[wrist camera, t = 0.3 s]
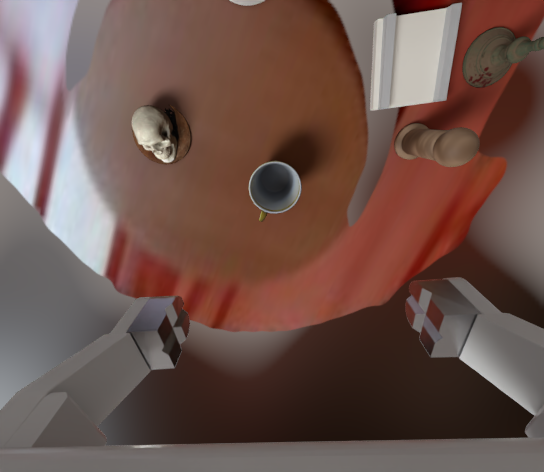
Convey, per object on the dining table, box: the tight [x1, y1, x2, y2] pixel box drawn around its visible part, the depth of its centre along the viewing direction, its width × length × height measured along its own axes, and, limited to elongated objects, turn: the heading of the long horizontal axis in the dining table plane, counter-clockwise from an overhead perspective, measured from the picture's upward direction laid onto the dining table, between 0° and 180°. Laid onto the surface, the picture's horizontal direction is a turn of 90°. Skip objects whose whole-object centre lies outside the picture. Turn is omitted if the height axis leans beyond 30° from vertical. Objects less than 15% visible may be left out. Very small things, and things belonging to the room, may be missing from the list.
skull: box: [132, 104, 191, 164], centre depth 49 cm, size 12×10×10 cm
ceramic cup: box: [249, 161, 302, 222], centre depth 50 cm, size 13×10×10 cm
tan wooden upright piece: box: [394, 123, 479, 167], centre depth 43 cm, size 7×7×16 cm
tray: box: [370, 3, 462, 111], centre depth 44 cm, size 14×14×3 cm
